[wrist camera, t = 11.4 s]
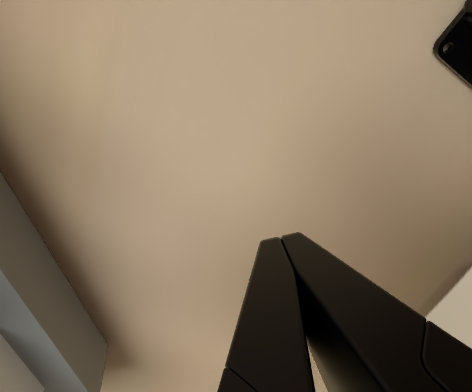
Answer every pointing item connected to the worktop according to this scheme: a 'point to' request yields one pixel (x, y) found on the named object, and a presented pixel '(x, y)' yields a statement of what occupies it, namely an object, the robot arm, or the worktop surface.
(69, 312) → the control box
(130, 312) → the worktop surface
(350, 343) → the robot arm
